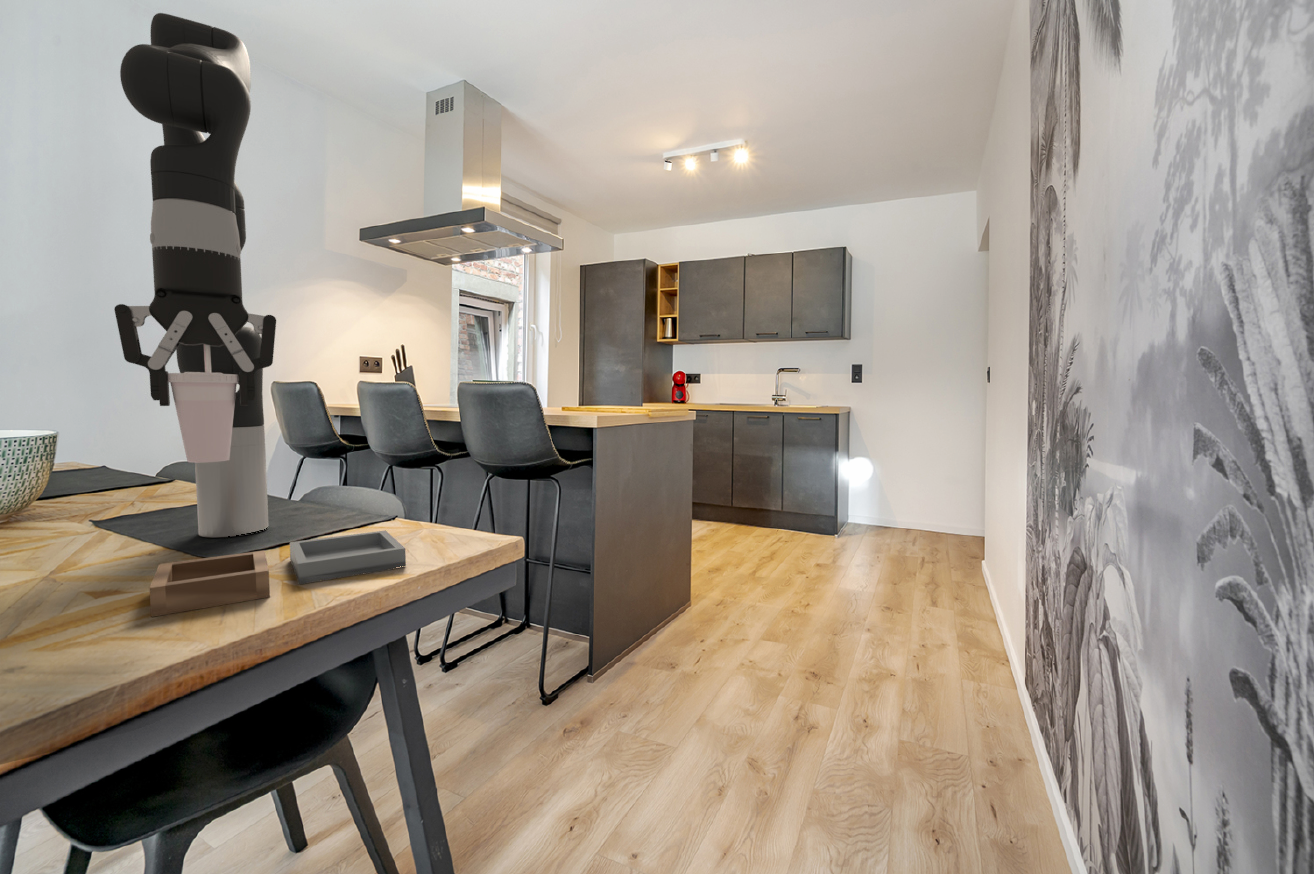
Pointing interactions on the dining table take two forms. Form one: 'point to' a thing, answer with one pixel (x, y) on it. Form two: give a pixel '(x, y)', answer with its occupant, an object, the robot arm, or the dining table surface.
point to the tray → (345, 556)
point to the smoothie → (205, 411)
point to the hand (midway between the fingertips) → (205, 405)
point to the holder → (209, 582)
